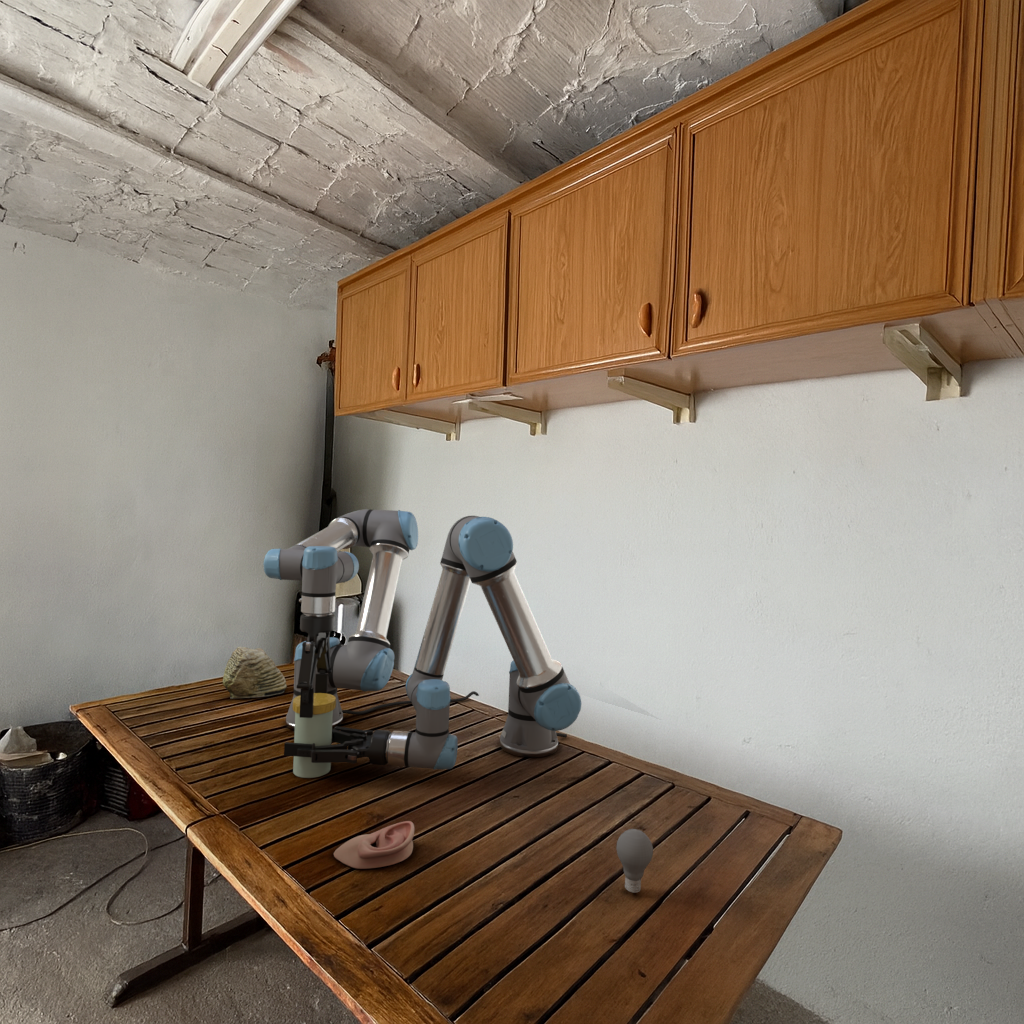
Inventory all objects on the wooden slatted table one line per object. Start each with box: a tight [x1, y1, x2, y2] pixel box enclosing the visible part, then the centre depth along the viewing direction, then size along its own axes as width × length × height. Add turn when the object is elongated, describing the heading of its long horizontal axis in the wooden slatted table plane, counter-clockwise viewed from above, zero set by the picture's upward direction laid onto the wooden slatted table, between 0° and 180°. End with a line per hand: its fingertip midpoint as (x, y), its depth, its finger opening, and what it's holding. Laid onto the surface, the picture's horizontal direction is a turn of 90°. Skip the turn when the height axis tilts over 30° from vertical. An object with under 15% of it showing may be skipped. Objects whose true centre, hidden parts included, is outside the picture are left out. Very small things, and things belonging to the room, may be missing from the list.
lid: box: [292, 693, 336, 715], centre depth 146 cm, size 10×10×2 cm
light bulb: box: [615, 828, 654, 894], centre depth 106 cm, size 6×6×10 cm
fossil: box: [222, 646, 288, 699], centre depth 198 cm, size 9×18×15 cm, turn 132°
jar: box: [292, 710, 333, 779], centre depth 146 cm, size 8×8×16 cm
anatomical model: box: [333, 820, 415, 870], centre depth 114 cm, size 13×4×12 cm
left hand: (313, 708), depth 146 cm, fingers open, 11 cm apart
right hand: (293, 741), depth 147 cm, fingers closed on jar, 8 cm apart
